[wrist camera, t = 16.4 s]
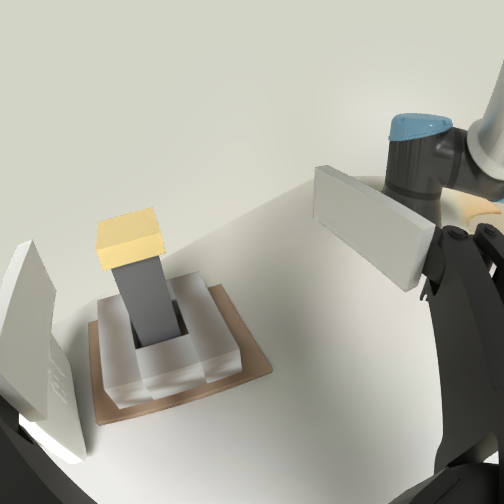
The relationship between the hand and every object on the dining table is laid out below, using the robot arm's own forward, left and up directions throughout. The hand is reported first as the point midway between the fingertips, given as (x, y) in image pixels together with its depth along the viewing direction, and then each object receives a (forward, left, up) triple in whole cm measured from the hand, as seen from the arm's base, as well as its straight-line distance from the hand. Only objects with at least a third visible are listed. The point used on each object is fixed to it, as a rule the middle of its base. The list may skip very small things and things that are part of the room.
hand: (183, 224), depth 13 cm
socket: (+3, -14, -22) cm, 26 cm away
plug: (+3, -13, -22) cm, 26 cm away
